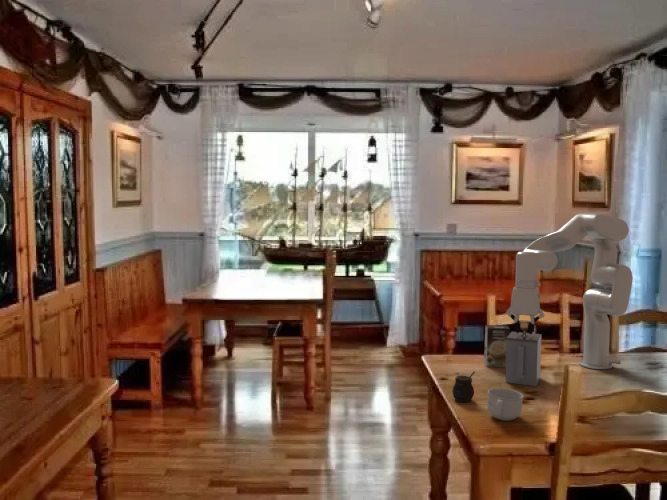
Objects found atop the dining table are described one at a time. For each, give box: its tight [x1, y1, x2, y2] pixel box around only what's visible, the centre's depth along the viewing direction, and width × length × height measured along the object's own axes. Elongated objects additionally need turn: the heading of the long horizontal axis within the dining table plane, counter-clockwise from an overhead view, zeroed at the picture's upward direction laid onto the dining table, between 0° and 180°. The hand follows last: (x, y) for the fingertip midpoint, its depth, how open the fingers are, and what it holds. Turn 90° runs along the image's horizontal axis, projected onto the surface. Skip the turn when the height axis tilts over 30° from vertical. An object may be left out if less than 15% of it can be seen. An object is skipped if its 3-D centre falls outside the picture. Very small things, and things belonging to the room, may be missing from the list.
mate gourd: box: [451, 371, 476, 403], centre depth 212 cm, size 7×8×10 cm
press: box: [505, 331, 542, 387], centre depth 233 cm, size 11×14×17 cm
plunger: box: [519, 320, 531, 337], centre depth 234 cm, size 9×9×17 cm
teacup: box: [486, 387, 524, 422], centre depth 195 cm, size 14×11×8 cm
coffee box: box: [483, 324, 511, 368], centre depth 255 cm, size 9×6×16 cm
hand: (524, 332), depth 233 cm, fingers closed on plunger, 4 cm apart
